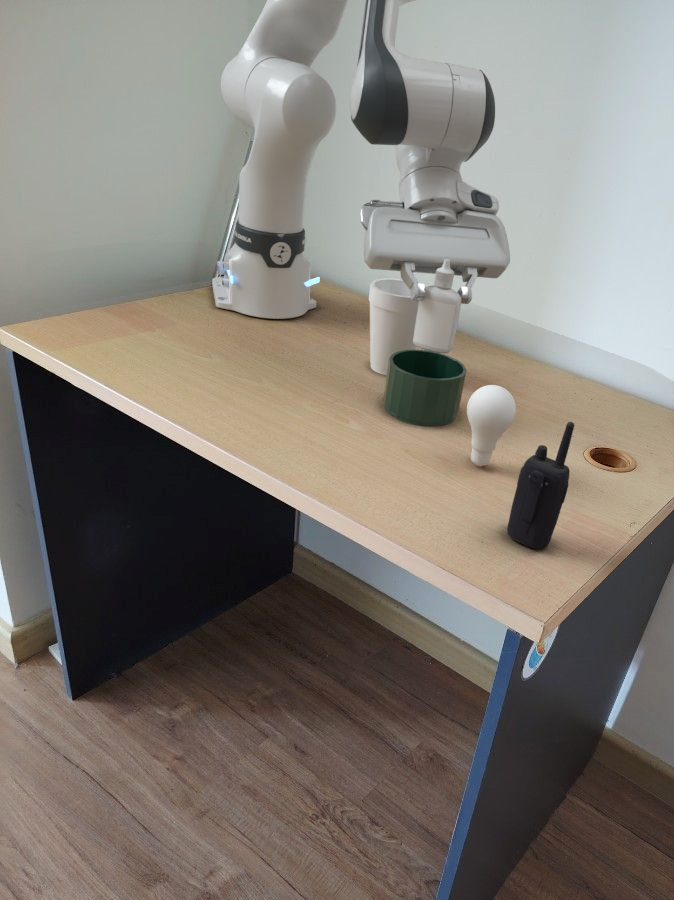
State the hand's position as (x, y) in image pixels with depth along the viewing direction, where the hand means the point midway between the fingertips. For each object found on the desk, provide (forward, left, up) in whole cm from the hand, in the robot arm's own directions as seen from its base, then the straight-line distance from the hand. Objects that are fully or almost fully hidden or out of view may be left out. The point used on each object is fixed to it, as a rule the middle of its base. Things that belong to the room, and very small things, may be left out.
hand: (442, 300), depth 102 cm
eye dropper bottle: (-1, 0, -7) cm, 7 cm away
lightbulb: (+17, 0, -16) cm, 23 cm away
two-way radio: (+34, -4, -16) cm, 38 cm away
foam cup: (-15, +2, -16) cm, 23 cm away
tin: (0, 0, -16) cm, 16 cm away
